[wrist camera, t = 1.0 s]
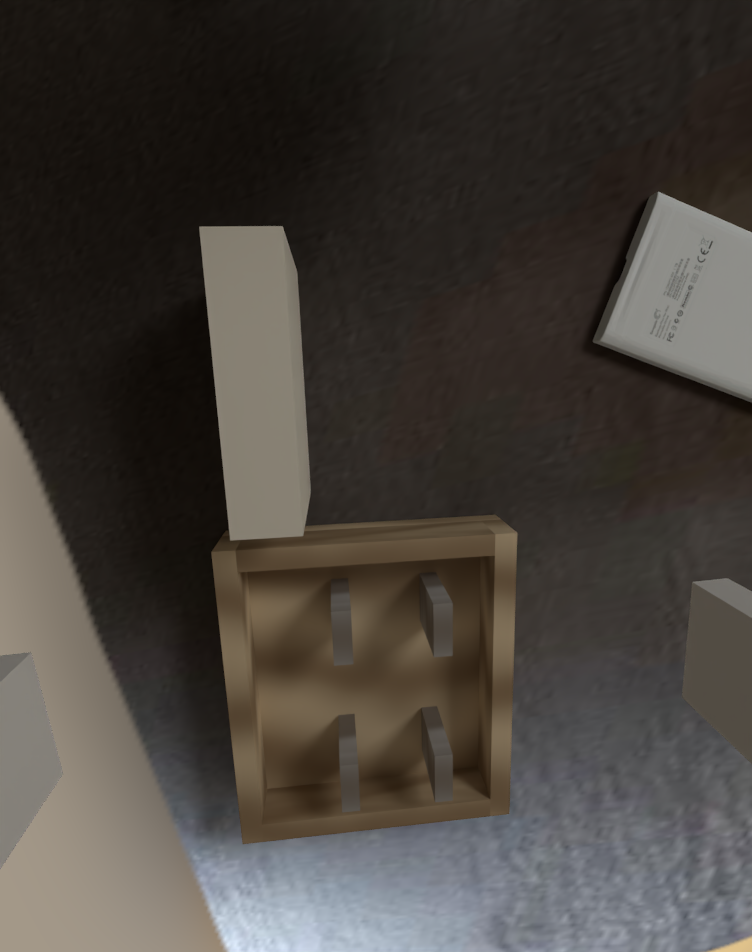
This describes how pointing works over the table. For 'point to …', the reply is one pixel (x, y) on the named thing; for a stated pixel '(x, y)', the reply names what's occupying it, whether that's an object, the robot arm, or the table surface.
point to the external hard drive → (685, 297)
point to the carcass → (369, 674)
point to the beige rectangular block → (258, 378)
